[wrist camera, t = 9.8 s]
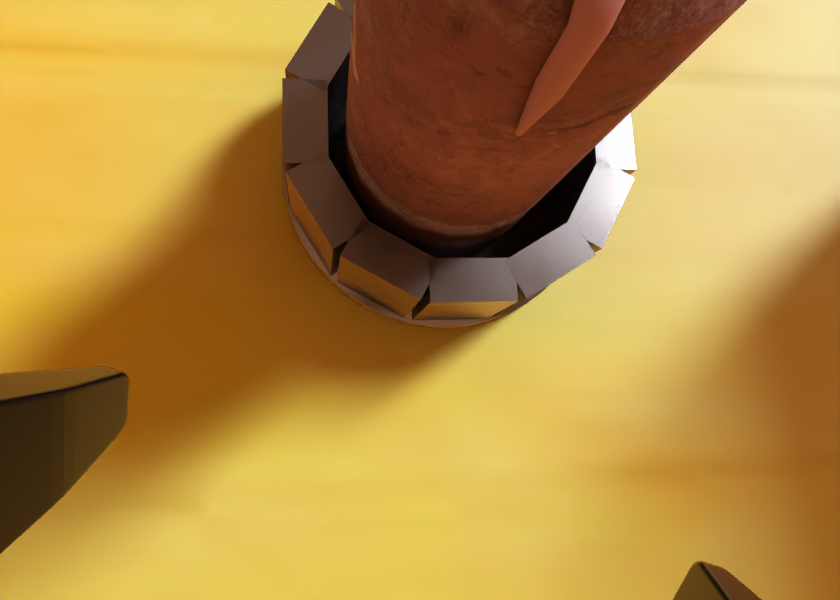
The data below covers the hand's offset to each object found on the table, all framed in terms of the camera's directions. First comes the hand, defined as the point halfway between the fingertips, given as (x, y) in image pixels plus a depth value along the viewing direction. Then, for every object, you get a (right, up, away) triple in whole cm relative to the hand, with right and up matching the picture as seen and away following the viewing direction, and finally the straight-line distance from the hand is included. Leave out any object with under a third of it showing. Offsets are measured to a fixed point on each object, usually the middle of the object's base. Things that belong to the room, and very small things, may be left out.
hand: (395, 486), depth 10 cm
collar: (+1, +7, +12) cm, 14 cm away
